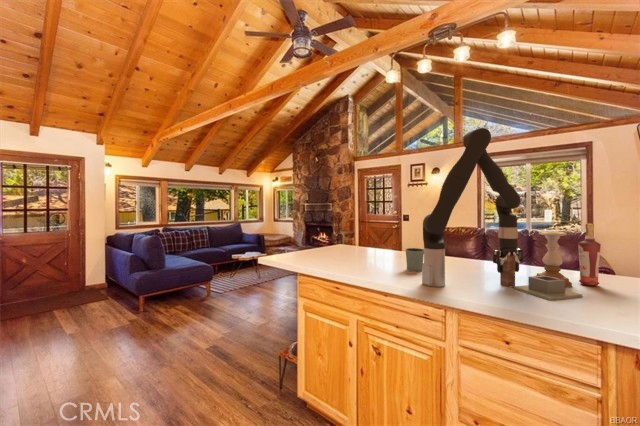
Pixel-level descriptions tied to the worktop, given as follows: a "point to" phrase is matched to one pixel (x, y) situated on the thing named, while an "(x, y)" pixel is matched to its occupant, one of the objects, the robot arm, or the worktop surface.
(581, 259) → the liquor
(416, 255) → the grey-green tapered pot
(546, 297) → the box on flat tray
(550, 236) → the candle holder
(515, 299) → the worktop surface
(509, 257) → the wooden peg
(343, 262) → the worktop surface
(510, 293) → the worktop surface
